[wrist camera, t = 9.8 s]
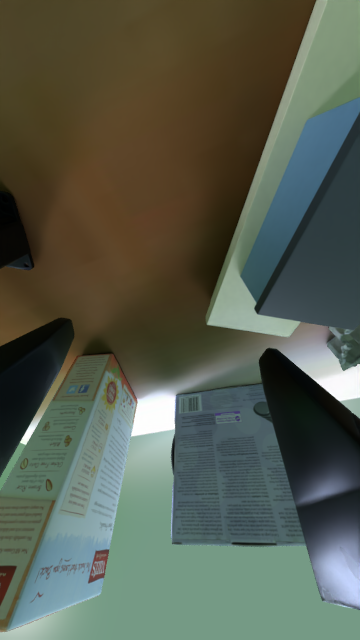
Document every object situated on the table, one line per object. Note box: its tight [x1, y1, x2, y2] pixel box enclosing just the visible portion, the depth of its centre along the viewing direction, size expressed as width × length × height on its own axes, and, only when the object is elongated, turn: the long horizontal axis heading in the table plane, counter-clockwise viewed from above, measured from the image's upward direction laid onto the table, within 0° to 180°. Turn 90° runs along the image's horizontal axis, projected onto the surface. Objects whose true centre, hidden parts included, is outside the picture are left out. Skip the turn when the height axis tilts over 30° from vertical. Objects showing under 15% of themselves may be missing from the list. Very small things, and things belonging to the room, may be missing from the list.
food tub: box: [240, 97, 360, 330], centre depth 11 cm, size 7×9×5 cm
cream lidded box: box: [205, 0, 360, 337], centre depth 14 cm, size 9×20×4 cm, turn 169°
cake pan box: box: [171, 384, 306, 547], centre depth 27 cm, size 19×5×18 cm, turn 105°
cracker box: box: [0, 354, 137, 632], centre depth 23 cm, size 14×6×21 cm, turn 6°
